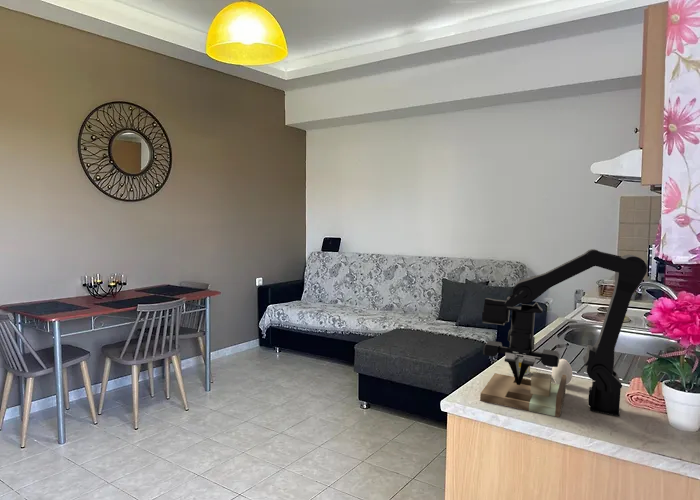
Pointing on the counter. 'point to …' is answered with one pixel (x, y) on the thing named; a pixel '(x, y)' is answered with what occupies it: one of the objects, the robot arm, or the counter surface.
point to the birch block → (541, 384)
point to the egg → (562, 371)
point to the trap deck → (523, 395)
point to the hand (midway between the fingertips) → (518, 384)
